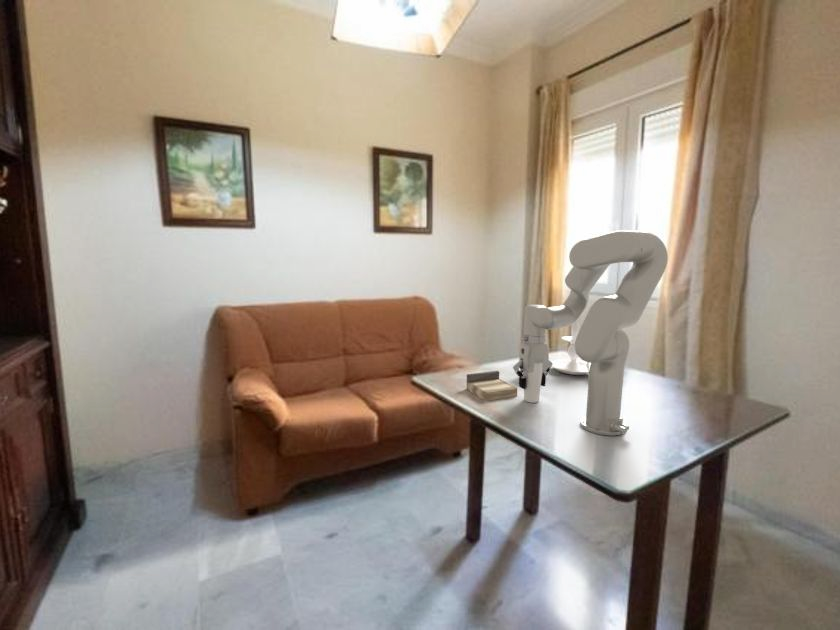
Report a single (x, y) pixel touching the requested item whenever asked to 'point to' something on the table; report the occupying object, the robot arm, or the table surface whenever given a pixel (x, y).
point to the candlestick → (572, 355)
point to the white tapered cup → (533, 384)
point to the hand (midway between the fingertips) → (532, 386)
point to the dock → (489, 386)
